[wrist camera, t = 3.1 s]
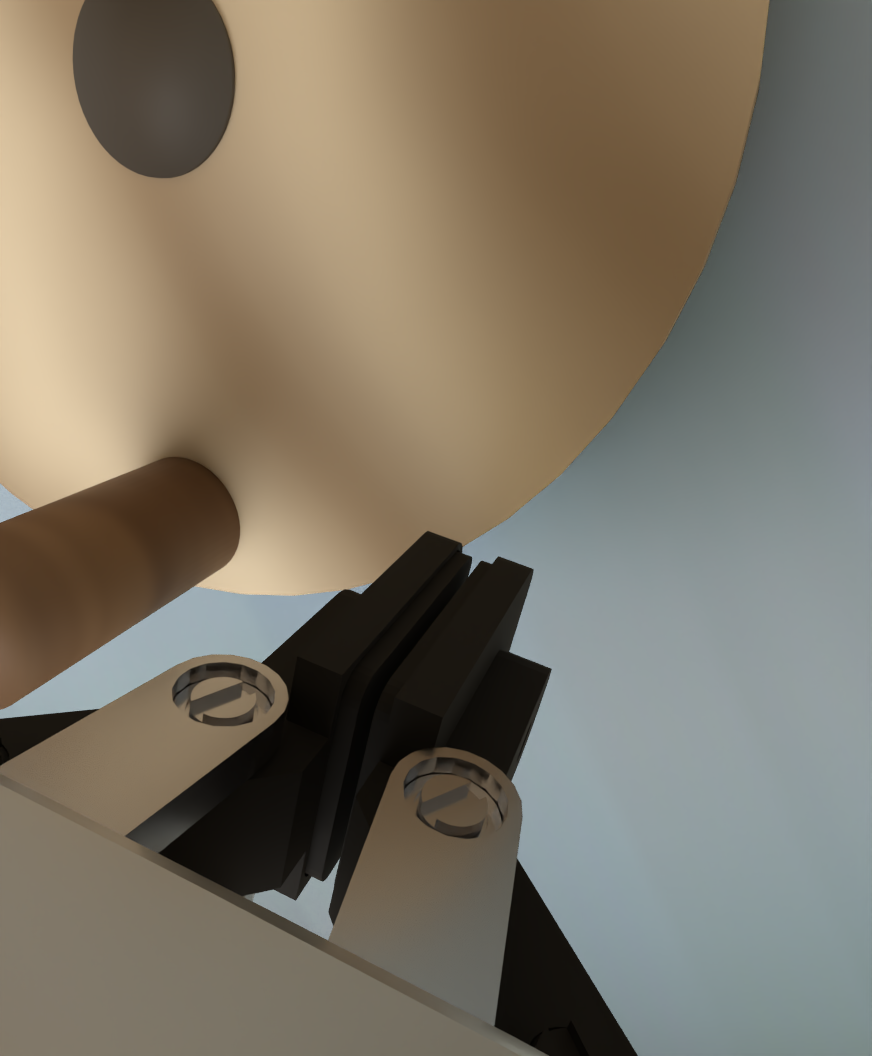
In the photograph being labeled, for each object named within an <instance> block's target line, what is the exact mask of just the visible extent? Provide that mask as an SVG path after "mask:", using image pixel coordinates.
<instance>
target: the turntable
mask: <svg viewBox="0 0 872 1056" xmlns="http://www.w3.org/2000/svg"><path fill="white" fill-rule="evenodd" d="M769 2H770V0H0V483H1V484H2V485H3V486H4V487H5V488H6V489H7V490H8V491H9V492H11V493H12V494H13V495H14V496H16V497H17V498H18V499H20V500H21V501H23V502H24V503H25V504H27V505H28V506H29V507H31V508H32V509H33V510H31V511H29V512H26V513H24V514H21V515H19V516H16V517H14V518H11V519H9V520H6V521H4V522H1V523H0V709H4V708H6V707H8V706H11V705H12V704H14V703H15V702H17V701H18V700H20V699H21V698H23V697H24V696H26V695H27V694H29V693H31V692H32V691H34V690H35V689H37V688H38V687H40V686H41V685H43V684H44V683H46V682H48V681H49V680H51V679H52V678H54V677H55V676H57V675H58V674H60V673H61V672H63V671H64V670H66V669H68V668H69V667H71V666H72V665H74V664H75V663H77V662H78V661H80V660H81V659H83V658H84V657H86V656H88V655H89V654H91V653H92V652H94V651H95V650H97V649H98V648H100V647H101V646H103V645H104V644H106V643H108V642H109V641H111V640H112V639H114V638H115V637H117V636H118V635H120V634H121V633H123V632H124V631H126V630H128V629H129V628H131V627H132V626H134V625H135V624H137V623H138V622H140V621H141V620H143V619H145V618H146V617H148V616H149V615H151V614H152V613H154V612H155V611H157V610H158V609H160V608H161V607H163V606H165V605H166V604H168V603H169V602H171V601H172V600H174V599H175V598H177V597H178V596H180V595H181V594H183V593H185V592H186V591H188V590H189V589H191V588H192V587H194V586H197V587H203V588H209V589H214V590H220V591H226V592H232V593H238V594H254V595H289V596H295V595H304V594H312V593H321V592H330V591H339V590H344V589H351V588H354V587H358V586H362V585H366V584H369V583H373V582H374V581H375V580H376V579H377V578H379V577H380V576H381V575H382V574H383V573H384V572H385V571H386V570H387V569H388V568H389V567H390V566H391V565H392V564H393V563H394V562H395V561H396V560H397V559H398V558H399V557H400V556H401V555H402V554H403V553H404V552H405V551H406V550H407V549H409V548H410V547H411V546H412V545H413V544H414V543H415V542H416V541H417V540H418V539H419V538H420V537H421V536H422V535H423V534H424V533H425V532H427V531H430V532H433V533H435V534H438V535H441V536H444V537H446V538H449V539H452V540H455V541H457V542H460V543H462V546H465V545H466V544H468V543H469V542H471V541H473V540H474V539H476V538H478V537H479V536H481V535H482V534H484V533H486V532H487V531H489V530H491V529H492V528H494V527H495V526H497V525H499V524H500V523H502V522H503V521H505V520H507V519H508V518H509V517H511V516H512V515H513V514H514V513H515V512H517V511H518V510H519V509H520V508H521V507H523V506H524V505H525V504H526V503H527V502H529V501H530V500H531V499H532V498H533V497H535V496H536V495H537V494H538V493H539V492H541V491H542V490H543V489H544V488H545V487H547V486H548V485H549V484H550V483H551V482H553V481H554V480H555V479H556V478H557V477H559V476H560V475H561V474H562V473H563V472H564V471H565V469H566V468H567V467H568V466H569V465H570V464H571V463H572V462H573V461H574V460H575V458H576V457H577V456H578V455H579V454H580V453H581V452H582V451H583V450H584V449H585V447H586V446H587V445H588V444H589V443H590V442H591V441H592V440H593V439H594V438H595V436H596V435H597V434H598V433H599V432H600V431H601V430H602V429H603V428H604V427H605V425H606V424H607V423H608V422H609V421H610V420H611V419H612V417H613V416H614V414H615V413H616V412H617V410H618V409H619V407H620V406H621V405H622V403H623V402H624V400H625V399H626V397H627V396H628V394H629V393H630V392H631V390H632V389H633V387H634V386H635V384H636V383H637V381H638V380H639V379H640V377H641V376H642V374H643V373H644V371H645V370H646V368H647V367H648V366H649V364H650V363H651V361H652V360H653V358H654V357H655V356H656V354H657V353H658V351H659V350H660V348H661V347H662V345H663V344H664V343H665V341H666V340H667V338H668V336H669V334H670V332H671V330H672V328H673V326H674V325H675V323H676V321H677V319H678V317H679V315H680V313H681V311H682V309H683V307H684V305H685V303H686V302H687V300H688V298H689V296H690V294H691V292H692V290H693V288H694V286H695V284H696V282H697V280H698V279H699V277H700V275H701V273H702V271H703V269H704V267H705V265H706V262H707V259H708V257H709V254H710V251H711V249H712V246H713V243H714V241H715V238H716V235H717V233H718V230H719V227H720V225H721V222H722V219H723V217H724V214H725V211H726V209H727V206H728V203H729V201H730V198H731V195H732V193H733V190H734V187H735V185H736V181H737V177H738V173H739V169H740V165H741V161H742V157H743V153H744V149H745V145H746V140H747V136H748V132H749V128H750V124H751V120H752V116H753V112H754V108H755V104H756V100H757V95H758V91H759V84H760V76H761V68H762V59H763V51H764V43H765V35H766V26H767V18H768V10H769Z"/></svg>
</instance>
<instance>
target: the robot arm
mask: <svg viewBox="0 0 872 1056" xmlns="http://www.w3.org/2000/svg"><path fill="white" fill-rule="evenodd" d="M462 548H463V546H462V543H460V542H457V541H455V540H452V539H449V538H446V537H444V536H441V535H438V534H435V533H433V532H430V531H427V532H425V533H424V534H423V535H422V536H421V537H420V538H419V539H418V540H417V541H416V542H415V543H414V544H413V545H412V546H411V547H410V548H409V549H407V550H406V551H405V552H404V553H403V554H402V555H401V556H400V557H399V558H398V559H397V560H396V561H395V562H394V563H393V564H392V565H391V566H390V567H389V568H388V569H387V570H386V571H385V572H384V573H383V574H382V575H381V576H380V577H379V578H377V579H376V580H375V581H374V582H373V583H372V584H371V585H370V586H369V587H368V588H367V589H366V590H365V591H364V592H363V593H362V594H359V593H356V592H354V591H351V590H349V589H344V590H343V591H341V592H339V593H338V594H337V595H336V596H335V597H334V598H333V599H332V600H330V601H329V602H328V603H327V604H326V605H325V606H324V607H323V608H322V609H321V610H319V611H318V612H317V613H316V614H315V615H314V616H313V617H312V618H311V619H310V620H308V621H307V622H306V623H305V624H304V625H303V626H302V627H301V628H300V629H299V630H297V631H296V632H295V633H294V634H293V635H292V636H291V637H290V638H289V639H287V640H286V641H285V642H284V643H283V644H282V645H281V646H280V647H279V648H278V649H276V650H275V651H274V652H273V653H272V654H271V655H270V656H269V657H268V658H267V659H265V660H264V661H263V662H262V663H259V662H257V661H255V660H252V659H250V658H245V657H240V656H235V655H207V656H202V657H196V658H192V659H190V660H187V661H185V662H183V663H180V664H178V665H176V666H174V667H172V668H171V669H169V670H167V671H165V672H164V673H162V674H160V675H158V676H157V677H155V678H153V679H151V680H150V681H148V682H146V683H144V684H143V685H141V686H139V687H137V688H136V689H134V690H132V691H130V692H129V693H127V694H125V695H123V696H122V697H120V698H118V699H116V700H115V701H113V702H111V703H109V704H108V705H106V706H104V707H102V708H101V709H94V710H84V711H74V712H64V713H54V714H44V715H34V716H24V717H14V718H4V719H0V1056H638V1055H637V1054H636V1052H635V1050H634V1049H633V1047H632V1046H631V1044H630V1042H629V1041H628V1039H627V1037H626V1036H625V1034H624V1032H623V1031H622V1029H621V1028H620V1026H619V1024H618V1023H617V1021H616V1019H615V1018H614V1016H613V1014H612V1013H611V1011H610V1010H609V1008H608V1006H607V1005H606V1003H605V1001H604V1000H603V998H602V996H601V995H600V993H599V992H598V990H597V988H596V987H595V985H594V983H593V982H592V980H591V978H590V977H589V975H588V974H587V972H586V970H585V969H584V967H583V965H582V964H581V962H580V960H579V959H578V957H577V956H576V954H575V952H574V951H573V949H572V947H571V946H570V944H569V943H568V941H567V939H566V938H565V936H564V934H563V933H562V931H561V929H560V928H559V926H558V925H557V923H556V921H555V920H554V918H553V916H552V915H551V913H550V911H549V910H548V908H547V907H546V905H545V903H544V902H543V900H542V898H541V897H540V895H539V893H538V892H537V890H536V889H535V887H534V885H533V884H532V882H531V880H530V879H529V877H528V875H527V874H526V872H525V871H524V869H523V867H522V866H521V864H520V862H519V861H518V859H517V854H518V847H519V840H520V832H521V825H522V817H523V816H522V802H521V799H520V797H519V795H518V792H517V790H516V788H515V786H514V784H513V783H512V782H511V781H512V778H513V776H514V773H515V771H516V768H517V766H518V763H519V761H520V758H521V756H522V753H523V750H524V748H525V745H526V742H527V740H528V737H529V734H530V731H531V729H532V726H533V723H534V720H535V717H536V715H537V712H538V709H539V706H540V703H541V700H542V697H543V694H544V691H545V689H546V686H547V683H548V680H549V676H550V673H551V668H548V667H545V666H543V665H540V664H538V663H535V662H533V661H530V660H528V659H525V658H522V657H520V656H517V655H515V654H512V653H510V652H509V650H510V647H511V644H512V641H513V637H514V634H515V631H516V628H517V625H518V621H519V618H520V615H521V612H522V609H523V605H524V602H525V599H526V596H527V593H528V589H529V586H530V583H531V579H532V576H533V569H532V568H529V567H526V566H523V565H521V564H518V563H515V562H512V561H510V560H507V559H504V558H501V557H499V556H498V557H497V558H496V560H495V561H494V562H493V564H490V563H487V562H484V561H481V562H480V563H479V564H478V565H477V567H476V568H475V569H474V571H473V572H472V573H471V574H470V576H469V577H468V575H469V572H470V568H471V564H472V557H471V556H468V555H465V554H462ZM339 858H340V861H339V866H338V870H337V874H336V878H335V884H334V890H333V895H332V899H331V903H330V908H329V915H330V918H331V921H332V923H333V929H332V932H331V934H330V937H329V939H328V940H326V939H324V938H322V937H320V936H318V935H316V934H314V933H312V932H310V931H308V930H306V929H305V928H303V927H301V926H299V925H297V924H295V923H293V922H291V921H289V920H287V919H285V918H283V917H281V916H279V915H277V914H275V913H273V912H271V911H270V910H268V909H266V908H264V907H262V906H260V905H258V904H256V903H254V902H253V898H254V895H255V893H259V892H264V891H268V890H273V889H274V890H276V891H278V892H280V893H282V894H284V895H286V896H288V897H290V898H292V899H294V900H296V899H297V898H298V896H299V895H300V893H301V892H302V890H303V889H304V887H305V886H306V884H307V883H308V881H309V880H310V878H311V877H314V878H316V879H318V880H320V881H324V880H325V879H326V878H327V877H328V876H329V874H330V873H331V871H332V870H333V868H334V866H335V865H336V863H337V862H338V860H339Z"/></svg>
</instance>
